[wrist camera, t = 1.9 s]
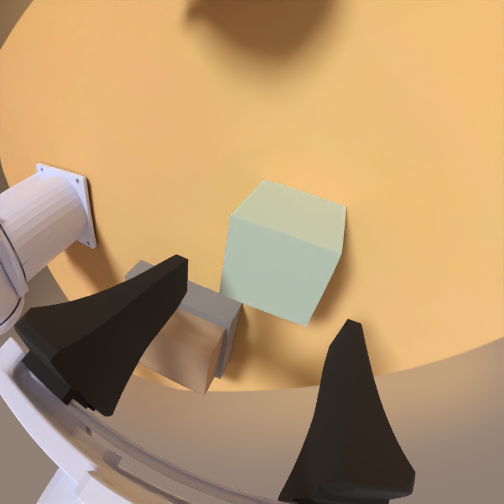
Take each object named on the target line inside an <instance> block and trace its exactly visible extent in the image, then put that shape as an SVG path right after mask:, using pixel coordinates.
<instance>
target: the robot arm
mask: <svg viewBox="0 0 504 504" xmlns="http://www.w3.org/2000/svg"><path fill="white" fill-rule="evenodd" d="M36 170H37V173H35V174H34V175H32V176H30V177H28V178H26V179H25V180H23V181H21V182H19V183H18V184H16V185H14V186H13V187H11V188H9V189H8V190H6V191H4V192H3V193H1V194H0V335H1V334H3V333H5V332H6V331H8V330H9V329H10V328H11V327H12V326H13V325H14V324H15V322H16V321H17V320H18V318H19V316H20V314H21V311H22V308H23V305H24V294H25V293H26V292H27V291H28V290H29V289H28V287H27V285H26V282H28V281H29V280H30V279H31V278H32V277H33V276H34V275H35V274H37V273H38V272H39V271H40V270H41V269H42V268H43V267H45V266H46V265H47V264H48V263H49V262H50V261H52V260H53V259H54V258H55V257H56V256H58V255H59V254H60V253H61V252H63V251H64V250H65V249H66V248H67V247H69V246H70V245H71V244H73V243H74V242H75V241H76V240H77V241H79V242H81V243H83V244H85V245H86V246H88V247H90V248H92V249H95V248H96V247H97V243H96V238H95V233H94V227H93V222H92V216H91V209H90V202H89V195H88V187H87V180H86V178H85V177H84V176H82V175H79V174H75V173H72V172H69V171H65V170H62V169H58V168H55V167H52V166H48V165H45V164H41V163H38V164H37V165H36ZM187 283H188V259H186V258H184V257H181V256H179V255H174V256H172V257H170V258H168V259H167V260H165V261H163V262H161V263H159V264H157V265H156V266H154V267H152V268H150V269H148V270H146V271H144V272H143V273H141V274H139V275H137V276H135V277H133V278H131V279H129V280H127V281H125V282H123V283H120V284H118V285H116V286H114V287H112V288H109V289H107V290H104V291H102V292H99V293H96V294H93V295H90V296H87V297H84V298H80V299H77V300H74V301H70V302H66V303H61V304H56V305H50V306H42V307H36V308H30V309H29V310H28V311H27V312H26V313H25V314H24V315H23V317H21V318H20V320H19V321H18V322H17V323H16V324H15V325H14V328H15V330H16V332H17V333H18V335H19V336H20V338H21V339H22V340H23V342H24V343H25V345H26V346H27V347H28V349H29V350H30V351H29V352H28V353H27V354H26V353H25V351H24V350H23V349H22V348H21V347H20V346H19V345H18V343H17V342H16V341H15V340H14V339H13V338H12V337H10V338H9V339H8V340H7V341H6V343H5V344H4V345H3V346H2V347H1V349H0V394H1V396H2V397H3V399H4V400H5V402H6V403H7V405H8V406H9V408H10V409H11V410H12V412H13V413H14V415H15V416H16V417H17V419H18V420H19V421H20V423H21V424H22V425H23V427H24V428H25V429H26V430H27V432H28V433H29V434H30V435H31V437H32V438H33V439H34V440H35V441H36V442H37V443H38V445H39V446H40V447H41V448H42V449H43V450H44V452H45V453H46V454H47V455H48V456H49V457H50V458H51V459H52V460H53V461H54V462H55V463H56V464H57V465H58V466H59V469H58V470H57V472H56V473H55V475H54V476H53V478H52V479H51V481H50V483H49V484H48V486H47V488H46V489H45V491H44V492H43V494H42V496H41V497H40V499H39V500H38V502H37V504H195V503H193V502H190V501H188V500H186V499H183V498H181V497H179V496H177V495H175V494H173V493H170V492H168V491H166V490H164V489H162V488H160V487H158V486H156V485H154V484H152V483H150V482H148V481H146V480H145V479H143V478H141V477H139V476H137V475H135V474H134V473H132V472H130V471H128V470H127V469H125V468H123V467H122V466H120V465H119V462H120V460H121V459H122V457H121V456H120V455H118V454H117V453H115V452H114V451H112V450H111V449H109V448H108V447H106V446H105V445H103V444H102V443H101V442H99V441H98V440H96V439H95V438H93V437H92V435H91V430H92V431H94V432H95V433H97V434H98V435H99V436H101V437H102V438H103V439H105V440H106V441H108V442H109V443H111V444H112V445H114V446H115V447H117V448H118V449H120V450H121V451H123V452H125V453H126V454H128V455H129V456H131V457H133V458H134V459H136V460H138V461H140V462H141V463H143V464H145V465H147V466H148V467H151V468H152V469H154V470H156V471H158V472H160V473H162V474H164V475H166V476H168V477H170V478H172V479H174V480H176V481H178V482H180V483H182V484H185V485H187V486H189V487H191V488H194V489H196V490H199V491H201V492H204V493H206V494H209V495H211V496H214V497H216V498H219V499H222V500H225V501H228V502H231V503H234V504H388V503H389V500H390V499H395V498H401V497H405V496H408V495H410V494H412V491H413V486H414V481H415V471H414V469H413V468H412V466H411V464H410V463H409V461H408V460H407V458H406V456H405V455H404V453H403V451H402V449H401V447H400V446H399V444H398V442H397V440H396V437H395V435H394V433H393V431H392V429H391V426H390V424H389V422H388V419H387V417H386V414H385V412H384V409H383V406H382V403H381V400H380V397H379V394H378V391H377V387H376V384H375V381H374V377H373V373H372V369H371V365H370V361H369V357H368V353H367V348H366V343H365V339H364V334H363V329H362V325H361V323H358V322H355V321H352V320H350V319H347V321H346V322H345V324H344V326H343V327H342V329H341V330H340V332H339V333H338V334H337V336H336V337H335V339H334V340H333V342H332V343H331V345H330V346H329V350H328V353H327V356H326V360H325V363H324V367H323V372H322V377H321V383H320V388H319V393H318V398H317V403H316V408H315V412H314V416H313V420H312V423H311V426H310V428H309V431H308V434H307V437H306V439H305V442H304V444H303V447H302V449H301V452H300V454H299V456H298V459H297V461H296V463H295V465H294V468H293V470H292V472H291V474H290V476H289V478H288V480H287V482H286V484H285V486H284V488H283V489H282V491H281V493H280V495H279V498H278V501H276V500H272V499H268V498H265V497H261V496H257V495H254V494H251V493H247V492H244V491H241V490H238V489H234V488H232V487H229V486H226V485H223V484H221V483H218V482H215V481H213V480H210V479H208V478H205V477H203V476H200V475H198V474H196V473H193V472H191V471H189V470H187V469H185V468H182V467H180V466H178V465H176V464H174V463H172V462H170V461H168V460H166V459H164V458H162V457H160V456H158V455H156V454H154V453H153V452H151V451H149V450H147V449H145V448H144V447H142V446H140V445H139V444H137V443H135V442H134V441H132V440H130V439H129V438H127V437H125V436H124V435H122V434H121V433H119V432H118V431H116V430H115V429H113V428H112V427H110V426H109V425H107V424H106V423H104V422H103V421H101V420H100V419H99V418H97V417H96V416H95V415H93V414H92V413H90V412H89V411H88V410H87V407H89V408H90V409H91V410H93V411H95V410H97V411H98V412H99V413H101V414H102V415H104V416H111V415H113V412H114V410H115V407H116V405H117V403H118V401H119V399H120V396H121V394H122V392H123V390H124V388H125V386H126V384H127V382H128V380H129V378H130V376H131V375H132V373H133V371H134V369H135V367H136V366H137V364H138V362H139V360H140V359H141V357H142V355H143V354H144V352H145V350H146V349H147V347H148V346H149V345H150V343H151V342H152V341H153V339H154V338H155V337H156V335H157V334H158V333H159V332H160V330H161V329H162V328H163V327H164V325H165V324H166V323H167V321H168V320H169V319H170V318H171V316H172V315H173V314H174V312H175V311H176V310H177V308H178V307H179V305H180V303H181V302H182V300H183V298H184V296H185V295H186V293H187ZM89 428H90V429H91V430H90V429H89ZM285 502H286V503H285Z"/></svg>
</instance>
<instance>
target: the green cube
mask: <svg viewBox="0 0 504 504" xmlns="http://www.w3.org/2000/svg"><path fill="white" fill-rule="evenodd" d="M345 218H346V206H343V205H340V204H338V203H335V202H332V201H329V200H326V199H324V198H321V197H318V196H315V195H312V194H309V193H306V192H303V191H300V190H297V189H294V188H291V187H288V186H285V185H282V184H278V183H275V182H272V181H269V180H266V179H264V180H263V181H262V182H261V183H260V184H259V185H258V186H257V187H256V188H255V189H254V190H253V191H252V192H251V194H250V195H249V196H248V197H247V198H246V199H245V200H244V201H243V202H242V203H241V204H240V206H239V207H238V208H237V209H236V210H235V211H234V212H233V213H232V214H231V216H230V222H229V229H228V236H227V242H226V249H225V256H224V263H223V270H222V278H221V285H220V293H219V294H220V295H223V296H225V297H228V298H230V299H233V300H235V301H238V302H241V303H243V304H246V305H248V306H251V307H254V308H256V309H259V310H261V311H264V312H267V313H269V314H272V315H275V316H278V317H280V318H283V319H286V320H289V321H291V322H294V323H297V324H300V325H303V326H305V327H306V326H307V324H308V322H309V320H310V318H311V316H312V314H313V312H314V311H315V309H316V307H317V305H318V303H319V301H320V299H321V297H322V295H323V293H324V291H325V289H326V287H327V284H328V282H329V280H330V278H331V276H332V274H333V272H334V270H335V268H336V266H337V263H338V261H339V259H340V257H341V255H342V247H343V238H344V228H345Z"/></svg>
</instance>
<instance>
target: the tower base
mask: <svg viewBox="0 0 504 504" xmlns="http://www.w3.org/2000/svg"><path fill="white" fill-rule="evenodd" d="M152 267H154V266H153V265H151V264H149V263H147V262H144V261H142V260H140V261H139V262H138V263H137V264H136V265H135V266H134V267H133V268H132V269H131V270H130V271H129V272H128V273H127V274H126V275H125V279H126V281H127V280H129V279H131V278H133V277H135V276H137V275H139V274H141V273H143V272H144V271H146V270H148V269H150V268H152ZM241 306H242V303H241V302H238V301H235V300H233V299H230V298H228V297H225V296H223V295H220V294H219V293H217V292H215V291H212V290H210V289H207V288H205V287H203V286H200V285H198V284H195V283H193V282H191V281H188V283H187V293H186V295H185V296H184V298H183V300H182V302H181V303H180V305H179V308H181V309H183V310H185V311H187V312H190V313H192V314H194V315H196V316H198V317H201V318H203V319H205V320H207V321H210V322H212V323H214V324H216V325H219V326H221V327H223V328H226V329H225V334H224V339H223V344H222V348H221V353H220V358H219V363H218V368H217V373H216V375H215V377H217V378H219V379H220V378H221V376H222V374H223V372H224V370H225V368H226V366H227V364H228V362H229V359H230V355H231V350H232V346H233V342H234V337H235V333H236V328H237V324H238V319H239V315H240V310H241Z"/></svg>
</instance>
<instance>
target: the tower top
mask: <svg viewBox="0 0 504 504" xmlns="http://www.w3.org/2000/svg"><path fill="white" fill-rule="evenodd" d="M225 329H226V328H223V327H221V326H219V325H216V324H214V323H212V322H210V321H207V320H205V319H203V318H201V317H198V316H196V315H194V314H192V313H190V312H187V311H185V310H183V309H181V308H179V307H178V308H177V310H176V311H175V312H174V314H173V315H172V316H171V318H170V319H169V320H168V321H167V323H166V324H165V325H164V327H163V328H162V329H161V330H160V332H159V333H158V334H157V335H156V337H155V338H154V339H153V341H152V342H151V343H150V345H149V346H148V347H147V349H146V350H145V352H144V354H143V355H142V357H141V359H140V360H139V363H141V364H143V365H145V366H146V367H148V368H150V369H152V370H154V371H155V372H157V373H159V374H161V375H163V376H165V377H167V378H169V379H170V380H172V381H174V382H176V383H178V384H180V385H182V386H184V387H186V388H188V389H191V390H193V391H195V392H197V393H199V394H201V395H203V396H205V394H206V392H207V390H208V388H209V386H210V384H211V382H212V380H213V378H214V376H215V375H216V373H217V368H218V363H219V358H220V353H221V348H222V344H223V339H224V334H225Z"/></svg>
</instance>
